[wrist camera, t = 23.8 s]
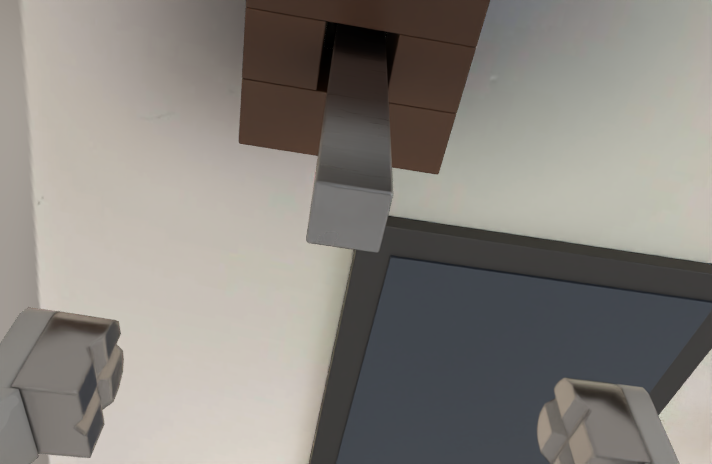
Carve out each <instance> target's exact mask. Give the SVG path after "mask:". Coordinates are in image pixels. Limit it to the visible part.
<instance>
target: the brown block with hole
mask: <svg viewBox="0 0 712 464" xmlns="http://www.w3.org/2000/svg"><path fill="white" fill-rule="evenodd" d="M489 2H490V0H246V11H245V30H244V50H243V69H242V89H241V108H240V127H239V143H240V144H246V145H252V146H258V147H265V148H271V149H278V150H284V151H290V152H297V153H303V154H310V155H316V156H318V152H319V145H320V138H321V131H322V124H323V117H324V110H325V103H326V96H327V89H328V82H329V75H330V68H331V61H332V54H333V48H329V47H324V46H325V38H326V31H327V24H328V22H334V23H340V24H345V25H351V26H357V27H363V28H368V29H374V30H380V31H385V32H388V35H387V40H386V60H387V80H388V100H389V119H390V139H391V158H392V167H393V168H400V169H406V170H412V171H419V172H425V173H432V174H438V173H439V171H440V167H441V164H442V160H443V157H444V154H445V150H446V147H447V144H448V140H449V137H450V133H451V130H452V127H453V123H454V120H455V117H456V113H457V110H458V107H459V103H460V100H461V97H462V93H463V90H464V87H465V83H466V80H467V76H468V73H469V70H470V66H471V63H472V60H473V56H474V53H475V50H476V46H477V43H478V39H479V36H480V33H481V29H482V26H483V23H484V19H485V16H486V12H487V9H488V6H489Z"/></svg>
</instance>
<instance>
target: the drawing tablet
mask: <svg viewBox="0 0 712 464" xmlns="http://www.w3.org/2000/svg"><path fill="white" fill-rule="evenodd" d="M711 349H712V264H705V263H698V262H692V261H685V260H678V259H671V258H665V257H658V256H651V255H645V254H638V253H631V252H624V251H618V250H611V249H604V248H597V247H591V246H584V245H577V244H571V243H564V242H557V241H550V240H544V239H537V238H530V237H524V236H517V235H510V234H503V233H497V232H490V231H483V230H476V229H470V228H463V227H456V226H450V225H443V224H436V223H429V222H423V221H416V220H409V219H402V218H396V217H389V216H388V218H387V222H386V226H385V230H384V234H383V238H382V242H381V246H380V250H379V251H378V252H377V253H375V252H368V251H361V250H354V255H353V260H352V264H351V269H350V274H349V278H348V283H347V288H346V292H345V297H344V302H343V306H342V311H341V316H340V320H339V325H338V330H337V334H336V339H335V344H334V348H333V353H332V358H331V362H330V367H329V371H328V376H327V381H326V385H325V390H324V395H323V399H322V404H321V409H320V413H319V418H318V423H317V427H316V432H315V437H314V441H313V446H312V451H311V455H310V460H309V464H550V463H549V462H548V461H547V459H546V458H545V457H544V456H543V455H542V454H541V453H540V449H539V445H538V440H537V423H538V417H539V413H540V412H541V410H542V408H543V406H544V404H545V403H547V402H549V401H551V400H553V399H554V398H556V396H555V393H554V388H555V386H556V384H557V383H558V381H559V380H561V379H563V378H573V379H582V380H590V381H599V382H608V383H613V384H620V385H628V386H636V387H643V388H644V389H645V390H646V391H647V392H648V394H649V396H650V398H651V400H652V402H653V405H654V407H655V409H656V411H657V414H658V415H659V414H660V413H661V411H662V410H663V409H664V408H665V406H666V405H667V404H668V403H669V401H670V400H671V399H672V398H673V396H674V395H675V394H676V393H677V391H678V390H679V389H680V388H681V386H682V385H683V384H684V382H685V381H686V380H687V379H688V377H689V376H690V375H691V374H692V372H693V371H694V370H695V369H696V367H697V366H698V365H699V364H700V362H701V361H702V360H703V359H704V357H705V356H706V355H707V354H708V352H709V351H710V350H711Z"/></svg>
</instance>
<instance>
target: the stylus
mask: <svg viewBox="0 0 712 464" xmlns="http://www.w3.org/2000/svg"><path fill="white" fill-rule="evenodd" d="M392 198H393V178H392V158H391V139H390V119H389V100H388V80H387V60H386V41H385V31H380V30H374V29H368V28H363V27H357V26H351V25H345V24H340V23H337V27H336V34H335V40H334V47H333V54H332V61H331V68H330V75H329V82H328V89H327V96H326V103H325V110H324V117H323V124H322V131H321V138H320V145H319V152H318V159H317V166H316V173H315V180H314V187H313V194H312V201H311V208H310V215H309V222H308V229H307V236H306V240H307V242H308V243H312V244H319V245H326V246H333V247H340V248H347V249H354V250H361V251H368V252H375V253H377V252H378V251H379V250H380V246H381V242H382V238H383V234H384V230H385V226H386V222H387V218H388V214H389V210H390V206H391V202H392Z"/></svg>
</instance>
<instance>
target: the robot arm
mask: <svg viewBox="0 0 712 464" xmlns="http://www.w3.org/2000/svg"><path fill="white" fill-rule="evenodd" d="M120 334H121V332H120V326H119V321H116V320H111V319H105V318H98V317H92V316H85V315H79V314H73V313H66V312H60V311H52V310H45V309H38V308H31V307H28V308H27V309H25V310H24V311H23V312H22V313H20V314H19V316H18V317H17V319H16V320H15V322H14V323H13V325H12V326H11V328H10V329H9V331H8V332H7V334H6V336H5V337H4V339H3V340H2V342H1V343H0V464H31V463H32V462H33V461H34V460H35V459H37V458H38V456H39V455H38V454H49V455H61V456H73V457H85V458H90V457H91V455H92V452H93V450H94V448H95V445H96V443H97V440H98V438H99V436H100V433H101V431H102V428H103V426H104V418H103V411H102V410H103V409H104V408H106V407H107V406H108V405H110V404H111V403H112V402H114V399H115V397H116V394H117V391H118V389H119V385H120V381H121V377H122V373H123V362H124V358H123V350H122V349H121V348H120V347H119V346H118V345H117V341H118V339H119V337H120ZM554 393H555V396H556V398H554V399H553V400H551V401H549V402H547V403H545V404H544V406H543V408H542V410H541V412H540V413H539V417H538V423H537V440H538V445H539V449H540V453H541V454H542V455H543V456H544V457H545V458H546V459H547V461H548V462H549V463H550V464H680V463H679V461H678V459H677V456H676V454H675V452H674V450H673V447H672V445H671V443H670V441H669V438H668V436H667V434H666V432H665V429H664V427H663V425H662V423H661V420H660V418H659V416H658V414H657V411H656V409H655V407H654V405H653V402H652V400H651V398H650V396H649V394H648V392H647V391H646V390H645V389H644V388H643V387H636V386H628V385H620V384H613V383H608V382H599V381H590V380H582V379H573V378H563V379H561V380H559V381H558V383H557V384H556V386H555V388H554Z"/></svg>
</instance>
